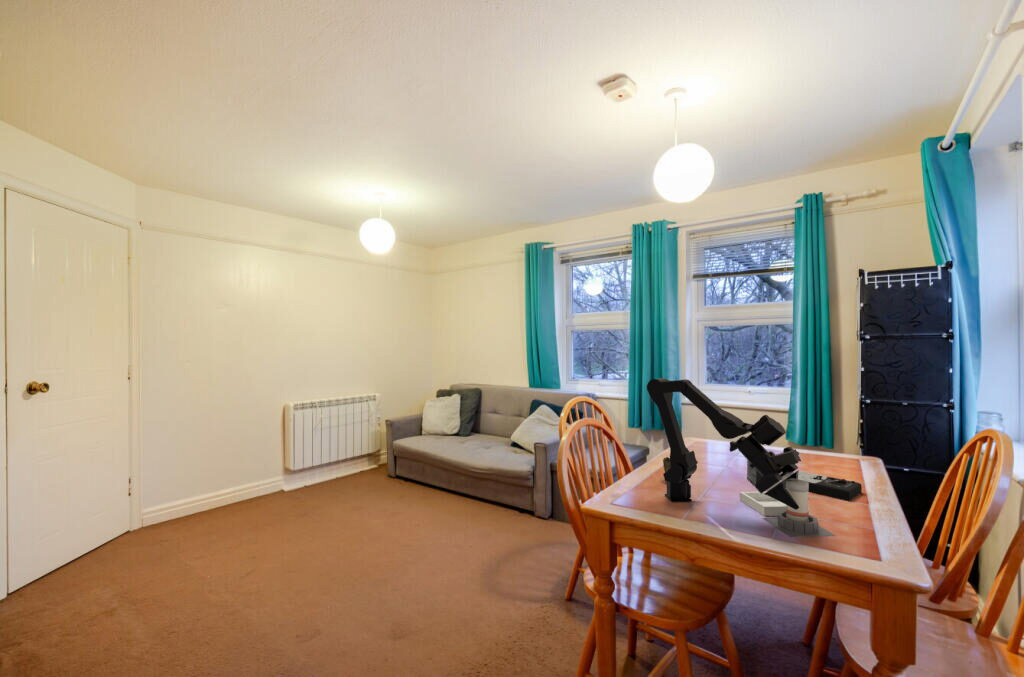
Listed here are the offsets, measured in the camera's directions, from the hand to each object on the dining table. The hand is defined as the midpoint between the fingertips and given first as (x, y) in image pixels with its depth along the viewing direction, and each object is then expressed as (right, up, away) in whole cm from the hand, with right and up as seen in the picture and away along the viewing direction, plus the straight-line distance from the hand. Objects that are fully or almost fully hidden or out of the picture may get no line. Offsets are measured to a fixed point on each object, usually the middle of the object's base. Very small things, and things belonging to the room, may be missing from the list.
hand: (802, 504), depth 117 cm
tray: (+1, -7, +15) cm, 17 cm away
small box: (+12, -8, +40) cm, 43 cm away
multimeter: (+29, -8, +34) cm, 45 cm away
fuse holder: (-1, -7, +1) cm, 7 cm away
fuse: (-1, -6, +1) cm, 6 cm away
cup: (-18, -8, +43) cm, 48 cm away
